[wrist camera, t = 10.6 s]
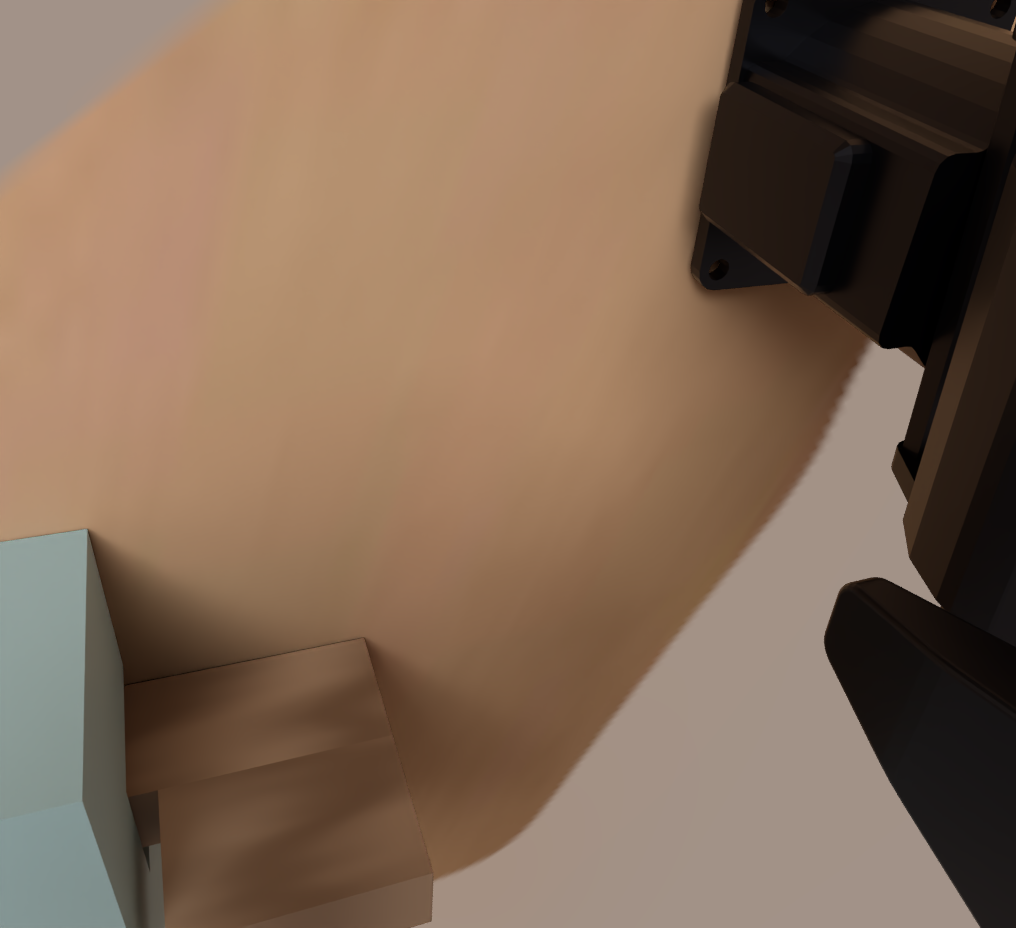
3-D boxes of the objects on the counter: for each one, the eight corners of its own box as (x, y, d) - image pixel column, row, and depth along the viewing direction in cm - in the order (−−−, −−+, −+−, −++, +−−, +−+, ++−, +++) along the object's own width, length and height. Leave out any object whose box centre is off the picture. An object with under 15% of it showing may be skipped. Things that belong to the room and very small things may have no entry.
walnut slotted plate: (364, 637, 25) (433, 872, 20) (365, 686, 26) (431, 921, 21) (-255, 761, 21) (-377, 1103, 16) (-220, 814, 22) (-321, 1147, 17)
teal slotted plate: (169, 840, 27) (185, 1100, 22) (96, 859, 27) (94, 1130, 21) (87, 528, 20) (82, 800, 15) (-15, 544, 20) (-58, 834, 14)
